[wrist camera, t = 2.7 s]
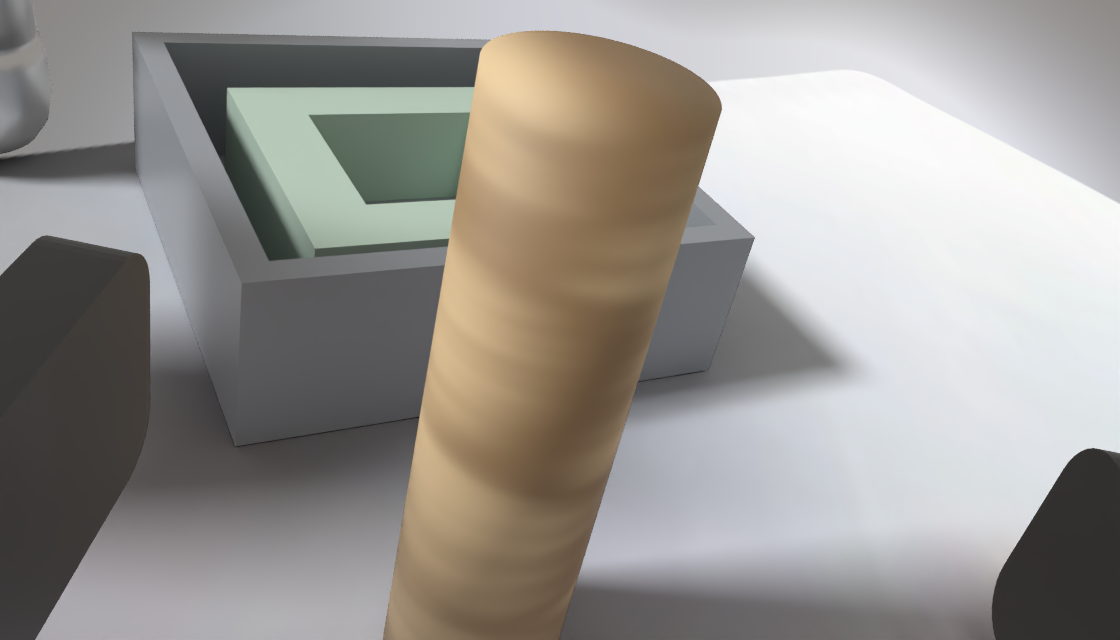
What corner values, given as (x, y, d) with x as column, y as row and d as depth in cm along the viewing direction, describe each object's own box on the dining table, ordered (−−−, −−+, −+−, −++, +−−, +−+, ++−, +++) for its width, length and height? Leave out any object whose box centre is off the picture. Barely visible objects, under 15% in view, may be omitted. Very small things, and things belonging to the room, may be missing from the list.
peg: (509, 563, 31) (643, 33, 22) (580, 690, 27) (770, 131, 19) (359, 600, 28) (442, 27, 20) (418, 741, 25) (547, 137, 17)
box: (514, 154, 53) (536, 40, 50) (708, 370, 41) (754, 237, 37) (135, 168, 45) (131, 32, 41) (235, 446, 32) (241, 283, 29)
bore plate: (487, 167, 49) (502, 87, 47) (611, 313, 41) (635, 224, 39) (224, 178, 43) (227, 87, 41) (306, 350, 35) (315, 248, 33)
